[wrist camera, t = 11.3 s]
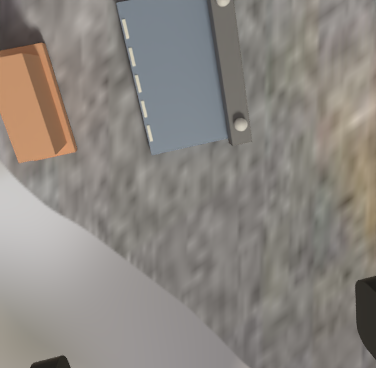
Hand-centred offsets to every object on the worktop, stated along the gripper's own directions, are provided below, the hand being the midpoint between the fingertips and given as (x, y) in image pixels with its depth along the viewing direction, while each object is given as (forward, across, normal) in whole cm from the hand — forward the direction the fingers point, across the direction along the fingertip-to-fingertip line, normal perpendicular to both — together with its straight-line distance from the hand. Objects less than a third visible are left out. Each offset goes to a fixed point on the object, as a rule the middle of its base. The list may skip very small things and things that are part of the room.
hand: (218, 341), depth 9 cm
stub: (+28, +10, -6) cm, 30 cm away
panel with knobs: (+28, -4, -6) cm, 29 cm away
